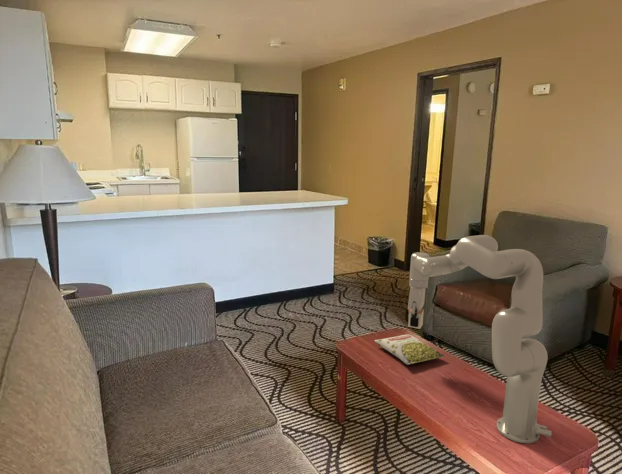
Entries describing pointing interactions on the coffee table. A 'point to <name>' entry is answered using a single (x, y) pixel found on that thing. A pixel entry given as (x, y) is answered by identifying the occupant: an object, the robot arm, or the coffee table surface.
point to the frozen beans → (409, 349)
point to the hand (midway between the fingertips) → (415, 323)
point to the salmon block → (420, 316)
